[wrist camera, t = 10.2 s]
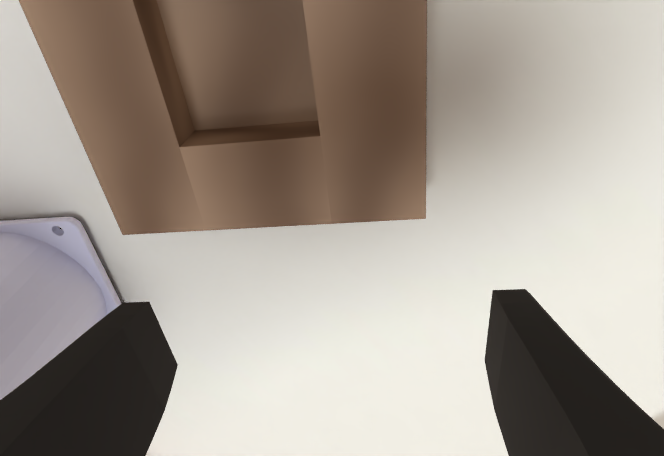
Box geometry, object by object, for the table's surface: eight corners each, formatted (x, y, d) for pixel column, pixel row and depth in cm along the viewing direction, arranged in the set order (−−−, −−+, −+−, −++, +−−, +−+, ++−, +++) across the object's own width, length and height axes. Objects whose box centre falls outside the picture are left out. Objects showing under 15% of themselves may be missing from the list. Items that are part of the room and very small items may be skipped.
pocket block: (143, 209, 19) (122, 234, 18) (4, -141, 13) (-50, -153, 11) (420, 192, 18) (425, 218, 16) (419, -212, 12) (428, -237, 10)
